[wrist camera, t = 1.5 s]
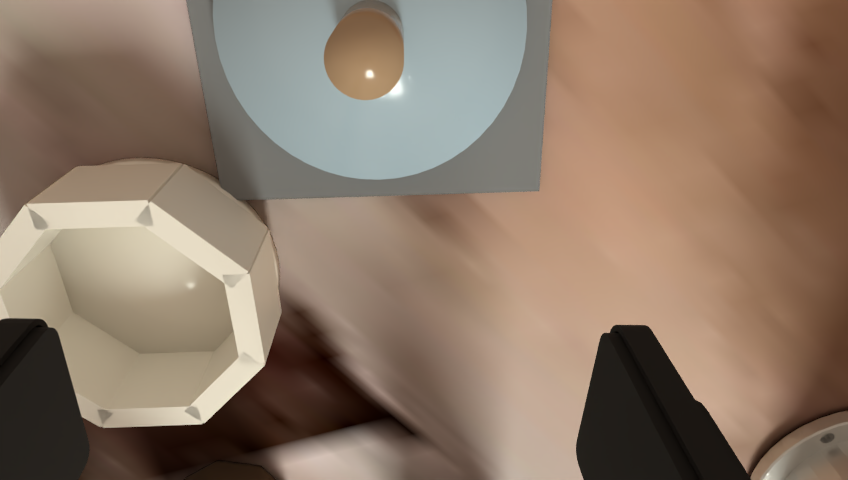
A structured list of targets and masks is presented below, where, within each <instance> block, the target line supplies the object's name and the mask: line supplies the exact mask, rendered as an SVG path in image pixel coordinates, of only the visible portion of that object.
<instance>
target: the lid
mask: <svg viewBox="0 0 848 480" xmlns="http://www.w3.org/2000/svg"><path fill="white" fill-rule="evenodd" d="M213 24H214V34H215V41H216V45H217V49H218V53H219V58H220V61H221V64H222V66H223V69H224V72H225V75H226V77H227V80H228V82H229V84H230V86H231V88H232V90H233V92H234V94H235V96H236V98H237V99H238V101H239V102H240V104H241V105H242V107H243V108H244V110H245V111H246V113H247V114H248V115H249V117H250V118H251V119H252V120H253V121H254V122H255V124H256V125H257V126H258V127H259V128H260V129H261V130H262V131H263V132H264V133H265V134H266V135H267V136H268V137H269V138H270V139H271V140H272V141H274V142H275V143H276V144H277V145H278V146H280V147H281V148H283V149H284V150H285V151H287V152H288V153H289V154H291V155H292V156H294V157H296V158H298V159H300V160H301V161H303V162H305V163H307V164H309V165H311V166H314V167H316V168H319V169H321V170H323V171H326V172H329V173H333V174H337V175H340V176H344V177H351V178H357V179H373V180H382V179H393V178H401V177H405V176H410V175H414V174H418V173H421V172H423V171H426V170H429V169H432V168H434V167H436V166H438V165H440V164H442V163H444V162H446V161H448V160H450V159H452V158H453V157H455V156H456V155H458V154H459V153H461V152H462V151H464V150H465V149H466V148H468V147H469V146H470V145H471V144H472V143H473V142H474V141H476V140H477V139H478V138H479V137H480V136H481V135H482V134H483V133H484V132H485V131H486V129H487V128H488V127H489V126H490V125H491V124H492V123H493V121H494V120H495V118H496V117H497V116H498V114H499V113H500V111H501V110H502V108H503V107H504V105H505V103H506V101H507V99H508V97H509V96H510V94H511V92H512V90H513V87H514V85H515V82H516V79H517V77H518V74H519V71H520V68H521V64H522V60H523V55H524V51H525V43H526V34H527V6H526V0H213Z"/></svg>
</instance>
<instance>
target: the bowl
mask: <svg viewBox="0 0 848 480" xmlns="http://www.w3.org/2000/svg"><path fill="white" fill-rule="evenodd" d="M267 229H268V227H267V226H265V224H264V223H263V221H262V220H261V218H260V217H259V216H258V214H257V213H256V211H255V210H254V209H253V208H252V207H251V206H250V205H249V204H248V203H247V201H246V200H236V199H235V198H234V197H233V196H232V195H231V194H230V193H228V192H227V191H225V190H224V189H222V188H221V187H220V181H219V179H217V178H215V177H213V176H211V175H209V174H207V173H205V172H204V171H201V170H199V169H196V168H193V167H191V166H188V165H185V164H182V163H178V162H174V161H170V160H163V159H157V158H128V159H120V160H115V161H111V162H107V163H104V164H101V165H99V166H77V167H75V168H73V169H72V170H71V171H69V172H68V173H67V174H65V175H64V176H63V177H61V178H60V179H59V180H57V181H56V182H55V183H53V184H52V185H51V186H49V187H48V188H46V189H45V190H44V191H42V192H41V193H40V194H38V195H37V196H36V197H34V198H33V199H32V200H30V201H29V202H28V203H26V204H25V205H24V206H23V207H22V209H21V210H20V211H19V213H18V214H17V216H16V217H15V218H14V220H13V221H12V222H11V224H10V225H9V226H8V228H7V229H6V231H5V232H4V233H3V235H2V236H1V237H0V320H1V319H5V318H28V319H42V320H44V321H45V322H46V323H47V325H48V327H52V328H55V329H56V330H57V332H58V334H59V338H60V341H61V345H62V348H63V352H64V355H65V359H66V363H67V366H68V370H69V373H70V377H71V380H72V384H73V388H74V391H75V395H76V398H77V402H78V405H79V409H80V413H81V416H82V417H83V418H85V419H87V420H89V421H90V422H92V423H94V424H96V425H97V426H99V427H101V426H103V428H115V427H142V426H170V425H198V424H203V423H205V422H206V421H207V420H209V419H210V418H211V417H212V416H213V415H214V414H215V413H216V412H217V411H218V410H219V409H220V408H221V407H222V406H223V405H224V404H225V403H226V402H227V401H228V400H229V399H230V398H231V397H232V396H233V395H235V394H236V393H237V392H238V391H239V390H240V389H241V388H242V387H243V386H244V385H245V384H246V383H247V382H248V381H249V380H250V379H251V378H252V377H253V376H254V375H255V374H256V373H257V372H258V371H259V370H261V369H262V368H263V367H264V366H265V363H266V360H267V356H268V353H269V350H270V347H271V344H272V341H273V337H274V334H275V331H276V328H277V325H278V322H279V318H280V315H281V312H282V311H281V304H280V298H279V291H278V290H279V281H280V269H279V260H278V256H277V251H276V248H275V245H274V243H273V240H272V237H271V235H270V231H269V230H267Z"/></svg>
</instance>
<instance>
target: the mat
mask: <svg viewBox="0 0 848 480" xmlns="http://www.w3.org/2000/svg"><path fill="white" fill-rule="evenodd" d="M186 1H187V7H188V12H189V18H190V23H191V29H192V34H193V40H194V45H195V50H196V56H197V61H198V67H199V72H200V78H201V83H202V89H203V94H204V99H205V105H206V110H207V116H208V121H209V127H210V132H211V138H212V143H213V149H214V154H215V159H216V165H217V170H218V176H219V181H220V187H221V188H222V189H224V190H225V191H227V192H228V193H230V194H231V195H232V196H233V197H234V198H235V199H236V200H264V199H297V198H330V197H363V196H395V195H428V194H461V193H494V192H527V191H539V187H540V172H541V158H542V143H543V129H544V114H545V99H546V85H547V70H548V56H549V41H550V27H551V12H552V0H526V6H527V34H526V43H525V51H524V55H523V60H522V64H521V68H520V71H519V74H518V77H517V79H516V82H515V85H514V87H513V90H512V92H511V94H510V96H509V97H508V99H507V101H506V103H505V105H504V107H503V108H502V110H501V111H500V113H499V114H498V116H497V117H496V118H495V120H494V121H493V123H492V124H491V125H490V126H489V127H488V128H487V129H486V131H485V132H484V133H483V134H482V135H481V136H480V137H479V138H478V139H477V140H476V141H474V142H473V143H472V144H471V145H470V146H469V147H468V148H466V149H465V150H464V151H462V152H461V153H459V154H458V155H456V156H455V157H453V158H452V159H450V160H448V161H446V162H444V163H442V164H440V165H438V166H436V167H434V168H432V169H429V170H426V171H423V172H421V173H418V174H414V175H410V176H405V177H401V178H393V179H382V180H373V179H357V178H351V177H344V176H340V175H337V174H333V173H329V172H326V171H323V170H321V169H319V168H316V167H314V166H311V165H309V164H307V163H305V162H303V161H301V160H300V159H298V158H296V157H294V156H292V155H291V154H289V153H288V152H287V151H285V150H284V149H283V148H281V147H280V146H278V145H277V144H276V143H275V142H274V141H272V140H271V139H270V138H269V137H268V136H267V135H266V134H265V133H264V132H263V131H262V130H261V129H260V128H259V127H258V126H257V125H256V124H255V122H254V121H253V120H252V119H251V118H250V117H249V115H248V114H247V113H246V111H245V110H244V108H243V107H242V105H241V104H240V102H239V101H238V99H237V98H236V96H235V94H234V92H233V90H232V88H231V86H230V84H229V82H228V80H227V77H226V75H225V72H224V69H223V66H222V64H221V61H220V58H219V53H218V49H217V45H216V41H215V34H214V24H213V0H186Z"/></svg>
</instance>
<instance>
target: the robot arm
mask: <svg viewBox="0 0 848 480" xmlns="http://www.w3.org/2000/svg"><path fill="white" fill-rule="evenodd" d="M576 454H577V460H578V464H579V467H580V470H581V473H582V476H583V479H584V480H848V411H843V412H838V413H835V414H832V415H828V416H825V417H822V418H819V419H817V420H815V421H812V422H810V423H808V424H806V425H803V426H801V427H800V428H798V429H796V430H795V431H793V432H792V433H790V434H788V435H787V436H785V437H784V438H783V439H782V440H780V441H779V442H778V443H777V444H775V445H774V446H773V447H772V448H771V449H770V450H769V451H768V452H767V453H766V454H765V455H764V457H763V458H762V459H761V460H760V462H759V463H758V465H757V466H756V468H755V469H754V471H753V473H752V475H751V478H750V477H749V475H748V474H747V472H746V471H745V469H744V467H743V466H742V464H741V463H740V461H739V460H738V458H737V456H736V455H735V453H734V452H733V450H732V448H731V447H730V445H729V444H728V442H727V441H726V439H725V437H724V436H723V434H722V433H721V431H720V430H719V428H718V426H717V425H716V423H715V422H714V420H713V419H712V417H711V415H710V414H709V412H708V411H707V409H706V408H705V407H704V406H703V405H702V403H700V402H698V401H696V400H695V399H694V398H693V396H692V394H691V393H690V391H689V390H688V388H687V386H686V385H685V383H684V382H683V380H682V378H681V377H680V375H679V374H678V372H677V370H676V369H675V367H674V366H673V364H672V362H671V361H670V359H669V358H668V356H667V354H666V353H665V351H664V350H663V348H662V346H661V345H660V343H659V342H658V340H657V338H656V337H655V335H654V334H653V332H652V330H651V329H650V328H649V327H648V326H646V325H615V326H613V327H612V329H611V331H610V333H604V334H602V336H601V338H600V342H599V346H598V351H597V355H596V359H595V364H594V368H593V373H592V377H591V381H590V386H589V390H588V394H587V399H586V403H585V408H584V412H583V416H582V421H581V425H580V430H579V434H578V438H577V444H576ZM88 457H89V441H88V438H87V434H86V430H85V427H84V423H83V420H82V416H81V413H80V409H79V405H78V402H77V398H76V395H75V391H74V388H73V384H72V380H71V377H70V373H69V370H68V366H67V363H66V359H65V355H64V352H63V348H62V345H61V341H60V338H59V334H58V332H57V330H56V329H55V328H52V327H48V325H47V323H46V322H45V321H44V320H42V319H28V318H5V319H1V320H0V480H78V479H79V477H80V475H81V473H82V471H83V469H84V468H85V466H86V463H87V460H88Z"/></svg>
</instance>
